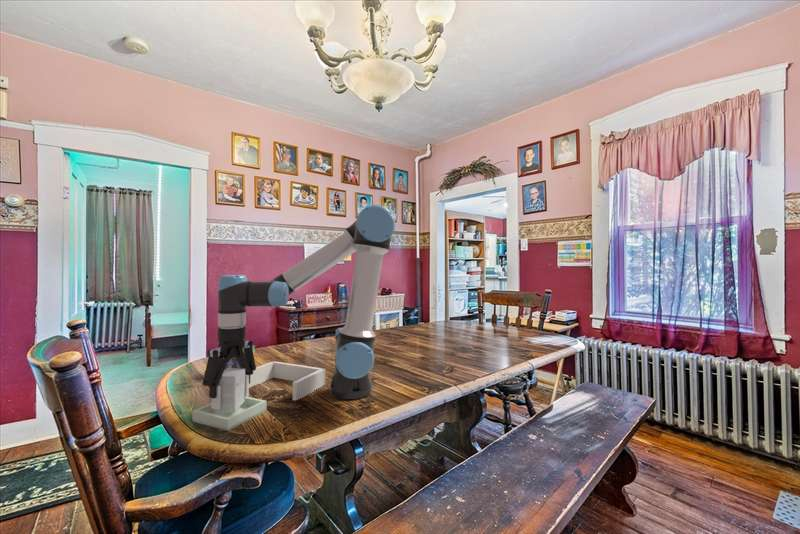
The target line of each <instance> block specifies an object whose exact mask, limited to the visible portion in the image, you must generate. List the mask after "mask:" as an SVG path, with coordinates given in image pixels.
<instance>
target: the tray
mask: <svg viewBox="0 0 800 534" xmlns="http://www.w3.org/2000/svg"><path fill="white" fill-rule="evenodd" d="M267 402H268V401H267V400H264V399H260V398H255V397H250V396H248V397H245V401H244V402H243V404H242V405H241V406H240V407H239V408H238V409H237V410H236V411H235V412H221V413H215V409H213V408H211V402H210V403H208V404H205V405H203V406H201V407H198V408H196V409H193V410H192V411H191V412H192V413H191V414H192V415H191V418H192V419H191V420H192V421H191V422H192V423H197V424H199V425H200V424H201V425H205V426H207V427H213V428H215V429H219V430H222V429H223V431H227V432H229V431H230V430H232V429H234V428H237V427H238V426H240V425H242V424H244V423H246V422H247V421H248V422H249V421H250V420H252V419H254V418H255V417H257V416H259V415H261V414H263V413H265V412H267V411H268V410H267V409H268V408H267V405H268V403H267Z"/></svg>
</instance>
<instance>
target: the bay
mask: <svg viewBox="0 0 800 534" xmlns="http://www.w3.org/2000/svg"><path fill="white" fill-rule="evenodd" d="M273 378H276V379H280V380H286V381H292V401H294V400H295V401H294V402H297V401H299V400H300V398H301V399H302V398H304V397H306V396H308V395H309V393H310V394H312V393H313V392H315V391H317V390H318V388H319V389H320V388H322V387H324V386H326V368H321V367H314V366H308V365H301V364H294V363H290V362H289V363H288V362H280V361H275V360H274V361H270V362H267V363H265V364H262V365H259V366H256V370H255V371H253V374H252V375H250V384H249V389H250V388H252V387H254V385H255V386H257V385H259V384H261V383H264V382H266V381H268V380H271V379H273ZM323 385H324V386H323ZM316 389H317V390H316ZM314 390H315V391H314ZM307 394H308V395H307ZM298 399H299V400H298ZM296 400H297V401H296Z"/></svg>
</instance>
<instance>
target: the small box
mask: <svg viewBox="0 0 800 534" xmlns="http://www.w3.org/2000/svg"><path fill="white" fill-rule="evenodd" d="M218 385H220V386H221V400H220V409H218V410H217V409H215V413H221V412H235V411H236V410H237V409H238V408H239V407H240V406H241V405H242V404H243V402H244V401H245V368H227V369H226V370H224V372H223V374H222V377H221V379H220V381H219V384H218Z"/></svg>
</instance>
